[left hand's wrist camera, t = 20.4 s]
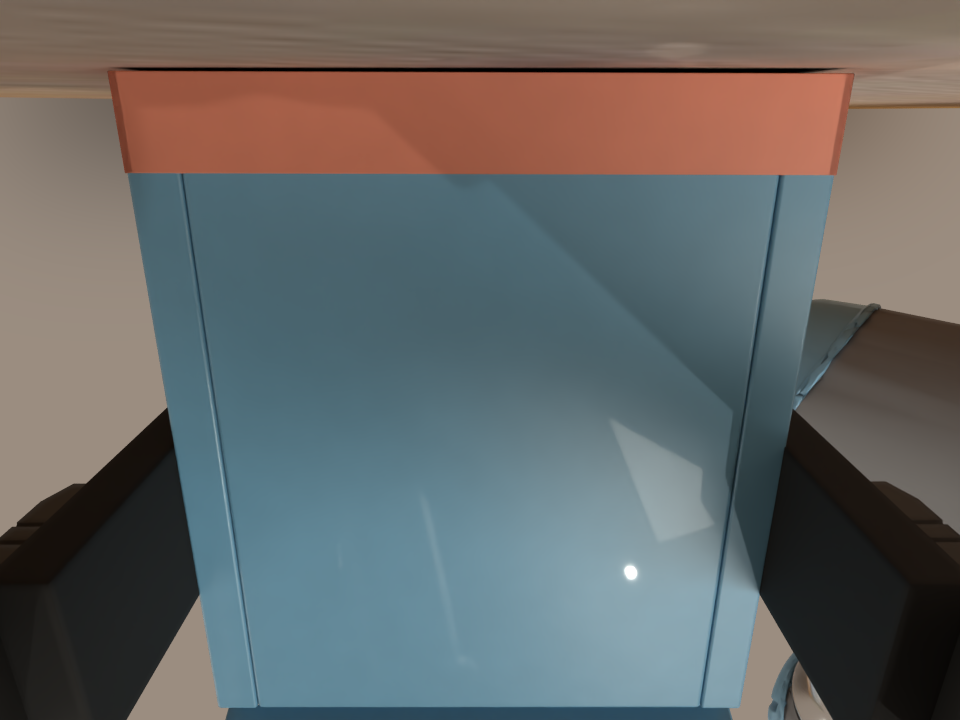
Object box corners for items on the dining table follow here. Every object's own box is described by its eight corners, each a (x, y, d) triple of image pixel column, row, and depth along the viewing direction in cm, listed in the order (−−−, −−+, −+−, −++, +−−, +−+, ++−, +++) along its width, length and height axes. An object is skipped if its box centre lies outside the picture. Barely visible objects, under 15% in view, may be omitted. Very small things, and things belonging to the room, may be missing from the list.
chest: (610, 111, 23) (592, 384, 26) (347, 110, 23) (364, 383, 26) (855, 73, 8) (741, 709, 12) (106, 71, 8) (216, 709, 12)
